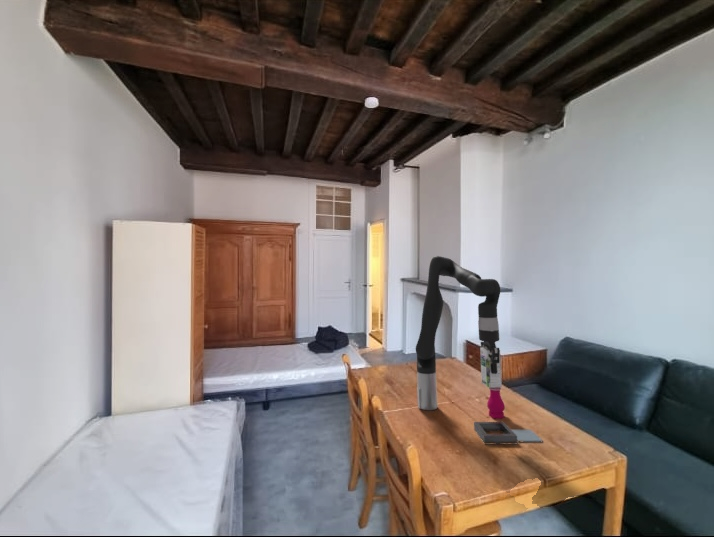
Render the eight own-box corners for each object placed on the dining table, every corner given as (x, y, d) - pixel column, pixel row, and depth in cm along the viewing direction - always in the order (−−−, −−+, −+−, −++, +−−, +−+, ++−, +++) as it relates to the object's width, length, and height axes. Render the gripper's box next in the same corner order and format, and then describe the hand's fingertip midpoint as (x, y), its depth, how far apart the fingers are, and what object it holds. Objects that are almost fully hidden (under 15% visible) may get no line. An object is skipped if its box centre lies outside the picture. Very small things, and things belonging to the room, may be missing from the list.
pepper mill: (491, 411, 143) (489, 368, 145) (507, 415, 138) (505, 371, 140) (485, 416, 138) (482, 371, 140) (501, 421, 133) (499, 374, 134)
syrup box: (481, 383, 124) (479, 347, 125) (494, 382, 124) (492, 346, 125) (488, 387, 118) (486, 350, 119) (502, 387, 119) (500, 349, 120)
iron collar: (484, 444, 114) (484, 435, 114) (474, 429, 126) (473, 421, 126) (517, 444, 113) (516, 435, 114) (503, 429, 125) (503, 421, 126)
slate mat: (518, 442, 115) (518, 440, 115) (508, 431, 124) (507, 429, 124) (542, 442, 114) (542, 440, 114) (530, 431, 123) (530, 429, 123)
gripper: (473, 326, 130) (475, 366, 129) (485, 331, 116) (487, 376, 115) (491, 326, 130) (493, 366, 128) (505, 330, 115) (508, 376, 114)
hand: (490, 370), depth 122 cm, fingers closed on syrup box, 6 cm apart
